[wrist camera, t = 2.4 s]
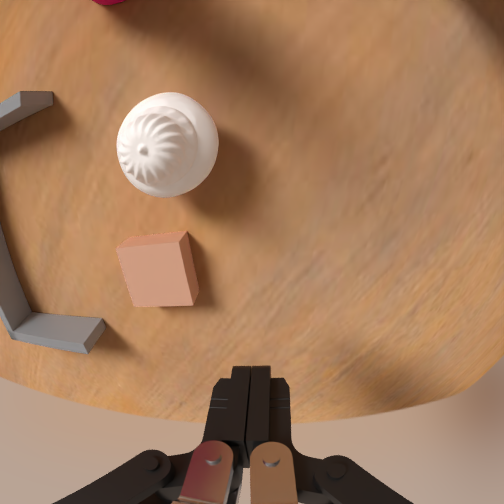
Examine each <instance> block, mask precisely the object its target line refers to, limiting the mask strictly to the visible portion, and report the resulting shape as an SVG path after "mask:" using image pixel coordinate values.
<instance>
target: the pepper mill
mask: <svg viewBox="0 0 504 504" xmlns="http://www.w3.org/2000/svg"><path fill="white" fill-rule="evenodd" d="M92 1H94V2H96V3H98V4H102V5H111V4H116V3H119V2H123V1H125V0H92Z"/></svg>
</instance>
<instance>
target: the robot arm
mask: <svg viewBox="0 0 504 504" xmlns="http://www.w3.org/2000/svg"><path fill="white" fill-rule="evenodd" d="M243 468H250V486H251V487H250V488H251V504H298V502H300V503H304V504H413V503H412V502H410V501H409V500H407V499H406V498H404V497H403V496H401V495H399V494H398V493H397V492H395V491H393V490H392V489H391V488H389V487H388V486H386V485H385V484H384V483H382V482H381V481H379V480H378V479H376V478H375V477H374V476H372V475H371V474H370V473H368V472H367V471H365V470H364V469H363V468H361V467H360V466H359V465H357V464H356V463H355V462H353V461H352V460H351V459H349V458H347V457H345V456H340V455H334V456H330V457H327V458H325V459H323V460H322V459H317V458H312V457H308V456H305V455H302V454H301V453H299V452H298V451H297V450H296V449H295V448H294V446H293V444H292V440H291V414H290V390H289V386H288V384H287V382H286V381H285V379H284V378H271V366H252V367H251V366H233V368H232V374H231V379H229V378H220V379H219V381H218V382H217V383H216V385H215V386H214V387H213V392H212V397H211V401H210V408H209V411H208V416H207V421H206V426H205V431H204V436H203V440H202V442H201V444H200V445H199V446H198V447H197V448H196V449H194V450H193V451H191V452H189V453H185V454H180V455H173V456H167V455H166V454H164V453H163V452H161V451H158V450H146V451H144V452H142V453H140V454H139V455H137V456H135V457H134V458H132V459H131V460H129V461H127V462H126V463H124V464H123V465H121V466H119V467H118V468H116V469H115V470H113V471H112V472H109V473H108V474H106V475H104V476H103V477H101V478H99V479H98V480H96V481H94V482H92V483H91V484H89V485H87V486H85V487H83V488H81V489H80V490H78V491H76V492H74V493H72V494H70V495H68V496H67V497H65V498H63V499H61V500H59V501H57V502H55V503H53V504H238V502H239V496H240V491H241V486H242V474H243Z"/></svg>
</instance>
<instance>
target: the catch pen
mask: <svg viewBox="0 0 504 504" xmlns="http://www.w3.org/2000/svg"><path fill="white" fill-rule="evenodd" d="M51 105H53V94H52V91H20V92H18V93H16V94H14V95H13V96H11V97H10V98H8V99H6V100H5V101H3V102H2V103H0V131H1V130H3V129H5V128H7V127H9V126H10V125H12V124H14V123H16V122H18V121H20V120H22V119H24V118H26V117H28V116H30V115H32V114H34V113H36V112H38V111H40V110H42V109H44V108H47V107H49V106H51ZM0 317H1V319H2V321H3V323H4V325H5V327H6V329H7V331H8V333H9V335H10V337H11V338H12V339H14V340H18V341H22V342H26V343H31V344H35V345H40V346H45V347H50V348H55V349H61V350H66V351H72V352H78V353H84V354H89V352H90V351H91V349H92V348H93V346H94V345H95V343H96V342H97V340H98V339H99V337H100V336H101V335H102V333H103V332H104V330H105V329H106V327H105V324H104V322H103V319H102V318H92V317H78V316H67V315H56V314H46V313H37V312H32V311H31V309H30V307H29V304H28V302H27V300H26V297H25V295H24V292H23V290H22V287H21V285H20V282H19V280H18V277H17V274H16V272H15V269H14V266H13V263H12V260H11V257H10V254H9V251H8V248H7V245H6V241H5V238H4V234H3V231H2V227H1V223H0Z"/></svg>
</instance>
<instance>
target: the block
mask: <svg viewBox="0 0 504 504" xmlns="http://www.w3.org/2000/svg"><path fill="white" fill-rule="evenodd" d="M116 251H117V255H118V258H119V262H120V265H121V268H122V272H123V275H124V278H125V281H126V284H127V287H128V290H129V293H130V296H131V299H132V302H133V305H134V307H156V306H192V305H194V303H195V300H196V298H197V295H198V293H199V285H198V281H197V276H196V272H195V267H194V262H193V257H192V253H191V248H190V243H189V238H188V233H187V231H180V232H171V233H162V234H153V235H144V236H135V237H128V238H127V239H126V240H125V241H123V242H122V243H121V244H120V245H119V246H118V247H117V248H116Z"/></svg>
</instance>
